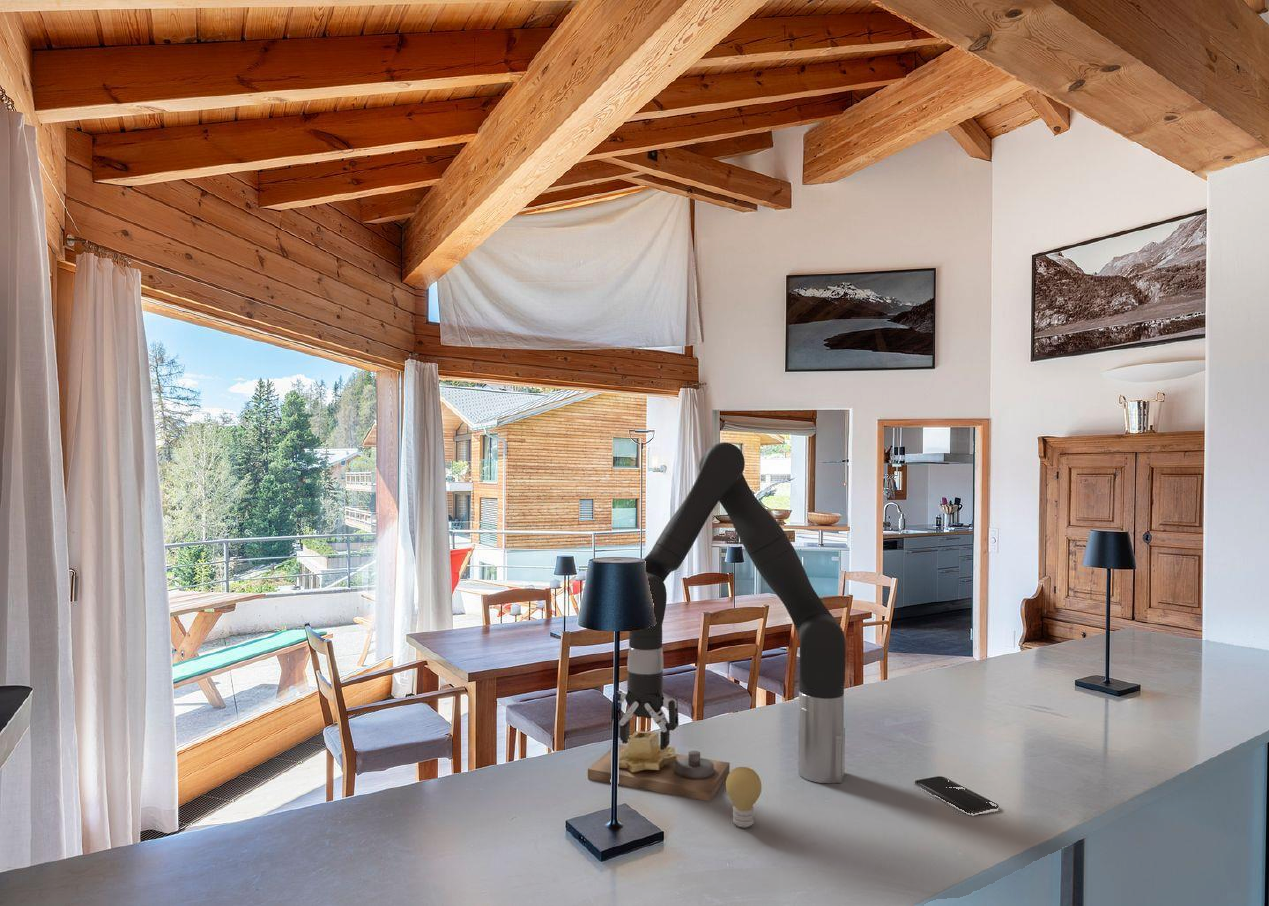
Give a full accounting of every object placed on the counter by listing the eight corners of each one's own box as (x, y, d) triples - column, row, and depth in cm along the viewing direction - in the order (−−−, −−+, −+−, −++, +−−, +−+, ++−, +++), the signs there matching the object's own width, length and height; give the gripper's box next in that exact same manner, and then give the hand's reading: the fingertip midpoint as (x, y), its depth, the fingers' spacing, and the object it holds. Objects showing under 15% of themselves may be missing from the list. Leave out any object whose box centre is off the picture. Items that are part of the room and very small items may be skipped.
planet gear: (687, 749, 157) (685, 726, 157) (665, 774, 144) (663, 748, 144) (626, 746, 162) (624, 723, 163) (600, 770, 149) (598, 745, 149)
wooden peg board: (729, 772, 154) (729, 738, 154) (710, 801, 140) (710, 764, 140) (616, 753, 164) (616, 721, 164) (587, 778, 150) (588, 744, 150)
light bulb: (760, 835, 127) (761, 777, 127) (724, 831, 128) (724, 773, 129) (761, 818, 133) (762, 763, 134) (726, 814, 135) (727, 759, 135)
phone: (970, 812, 135) (912, 780, 149) (970, 819, 135) (912, 786, 149) (1002, 806, 138) (942, 775, 152) (1002, 812, 138) (942, 780, 152)
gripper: (683, 667, 155) (682, 744, 154) (621, 660, 160) (620, 734, 159) (671, 676, 148) (670, 757, 147) (607, 668, 153) (606, 746, 152)
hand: (644, 745), depth 153 cm, fingers open, 8 cm apart
